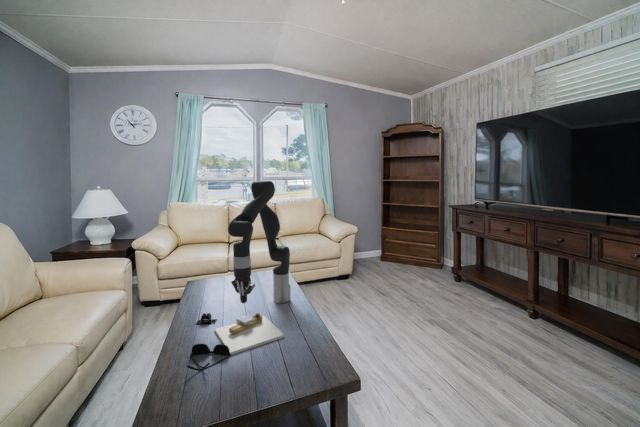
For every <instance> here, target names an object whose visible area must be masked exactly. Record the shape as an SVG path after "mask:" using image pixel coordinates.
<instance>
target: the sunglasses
mask: <svg viewBox="0 0 640 427" xmlns="http://www.w3.org/2000/svg"><path fill="white" fill-rule="evenodd" d="M210 349H211V348H210V347H209V346H208V345H207V344H205V343H196V344H194V345H193V346H192V348H191V352H190V355H189V356H190V358H191V359H192V361H193V362H194V363H195V365H197V366H198V367H199V368H196V367H194V366H192V365H189V364H187V366H186V367H187V369H191V370H194V371H197V372H198V371H199V372H200V371H201V372H202V371H203V370H206V369H208V368H210V367H213V366H214V365H217V364H218V363H221V362H224V360H227V359H229V358H230V357H231V356H232V355H231V354H230V352H229V348H228V346H226V345H223V343H222V344H220V343H219V344H216V345H215V346H214V347H213V349H212V350H210ZM209 354H210V355H211V354H213V355H218V356H225V357H224V358H222V359H220V360H219V361H216V362H214V363H213V364H211V365H210V361H208V362H207V363H206V364H205V365H204V366H201V365H200V364H199V363H198V362H197V361H196V360H195V359H194V356H200V355H201V356H202V355H209Z"/></svg>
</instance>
